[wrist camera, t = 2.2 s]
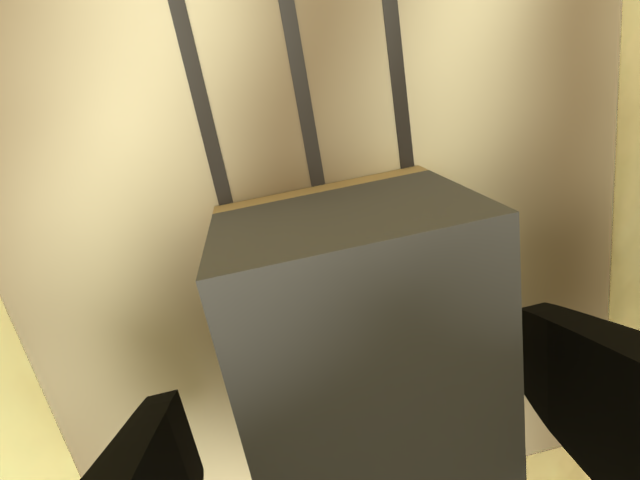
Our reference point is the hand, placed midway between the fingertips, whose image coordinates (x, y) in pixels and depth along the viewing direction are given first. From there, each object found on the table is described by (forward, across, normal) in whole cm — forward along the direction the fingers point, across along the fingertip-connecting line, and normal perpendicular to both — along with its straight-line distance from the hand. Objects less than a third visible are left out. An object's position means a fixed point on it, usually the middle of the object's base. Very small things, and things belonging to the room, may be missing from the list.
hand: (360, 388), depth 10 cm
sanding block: (+2, 0, 0) cm, 2 cm away
